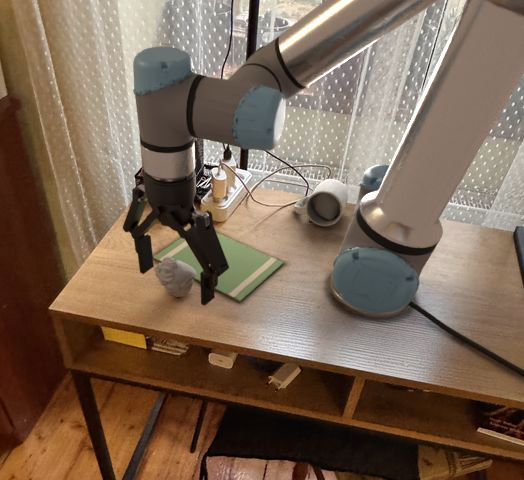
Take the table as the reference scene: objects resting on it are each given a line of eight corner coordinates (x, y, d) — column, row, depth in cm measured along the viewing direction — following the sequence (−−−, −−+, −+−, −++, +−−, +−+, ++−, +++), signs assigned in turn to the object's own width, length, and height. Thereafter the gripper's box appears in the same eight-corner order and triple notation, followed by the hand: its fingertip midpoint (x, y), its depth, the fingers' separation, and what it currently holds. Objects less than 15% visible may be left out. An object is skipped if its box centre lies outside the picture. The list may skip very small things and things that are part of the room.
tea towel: (283, 263, 102) (283, 262, 102) (240, 302, 94) (240, 300, 94) (200, 226, 109) (200, 224, 109) (153, 258, 101) (152, 256, 101)
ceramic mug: (346, 210, 117) (352, 177, 111) (338, 230, 111) (344, 196, 106) (299, 200, 119) (303, 168, 113) (289, 219, 113) (292, 186, 108)
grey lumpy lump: (157, 282, 96) (154, 250, 91) (196, 282, 97) (196, 249, 92) (156, 305, 92) (152, 272, 87) (197, 304, 93) (196, 272, 88)
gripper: (255, 188, 76) (248, 303, 91) (123, 135, 84) (137, 247, 100) (223, 210, 71) (221, 327, 86) (87, 151, 80) (108, 267, 95)
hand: (176, 285), depth 93 cm, fingers open, 13 cm apart
